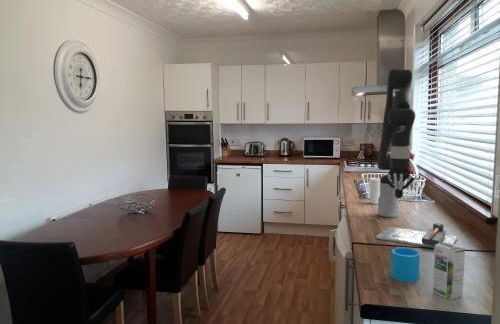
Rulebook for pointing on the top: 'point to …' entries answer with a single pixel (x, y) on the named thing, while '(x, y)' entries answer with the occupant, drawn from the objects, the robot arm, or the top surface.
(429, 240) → the cable arm
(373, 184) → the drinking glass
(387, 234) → the panel
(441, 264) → the syrup box
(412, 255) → the mug
